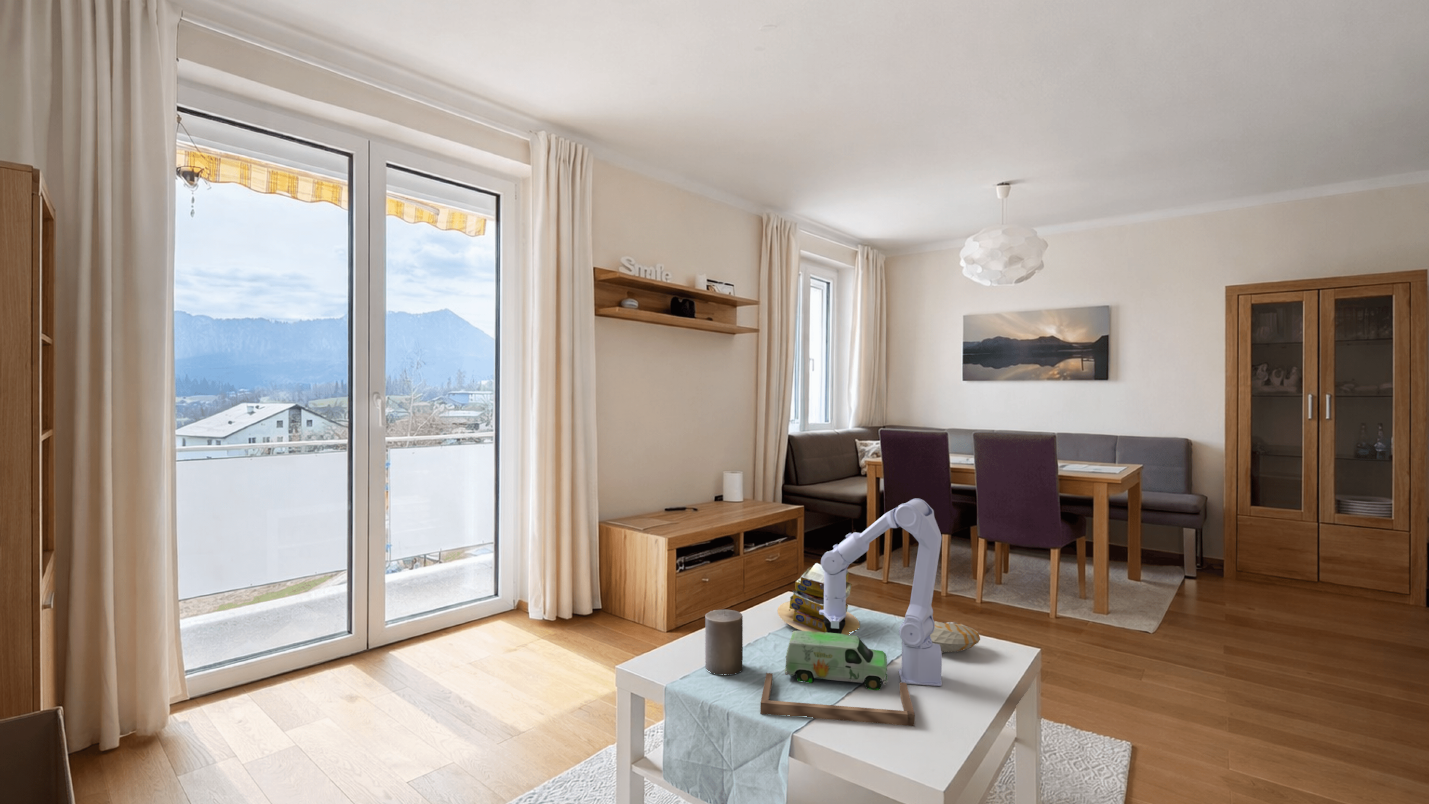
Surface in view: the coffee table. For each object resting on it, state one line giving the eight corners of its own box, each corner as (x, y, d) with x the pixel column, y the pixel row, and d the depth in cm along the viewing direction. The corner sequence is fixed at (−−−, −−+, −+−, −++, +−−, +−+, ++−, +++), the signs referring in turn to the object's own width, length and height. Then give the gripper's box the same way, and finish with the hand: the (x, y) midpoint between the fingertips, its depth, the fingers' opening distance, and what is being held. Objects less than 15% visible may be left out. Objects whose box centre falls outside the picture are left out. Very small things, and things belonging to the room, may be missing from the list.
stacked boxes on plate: (875, 622, 213) (875, 568, 213) (830, 645, 195) (831, 585, 195) (808, 605, 230) (808, 554, 230) (761, 623, 212) (761, 569, 211)
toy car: (887, 692, 166) (888, 650, 166) (783, 681, 171) (784, 641, 171) (886, 674, 176) (887, 634, 176) (788, 664, 182) (789, 626, 181)
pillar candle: (750, 667, 179) (750, 609, 179) (725, 679, 172) (725, 618, 172) (722, 658, 186) (722, 601, 185) (696, 669, 178) (696, 610, 178)
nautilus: (890, 646, 195) (915, 635, 206) (965, 663, 181) (987, 650, 192) (889, 618, 196) (914, 608, 207) (964, 632, 181) (987, 621, 192)
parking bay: (906, 693, 165) (906, 682, 165) (914, 726, 149) (914, 714, 149) (766, 683, 170) (766, 672, 170) (760, 713, 154) (760, 702, 154)
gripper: (819, 586, 193) (819, 635, 193) (819, 602, 178) (818, 655, 179) (845, 587, 191) (845, 636, 192) (847, 604, 177) (846, 657, 178)
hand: (834, 646), depth 185 cm, fingers closed
